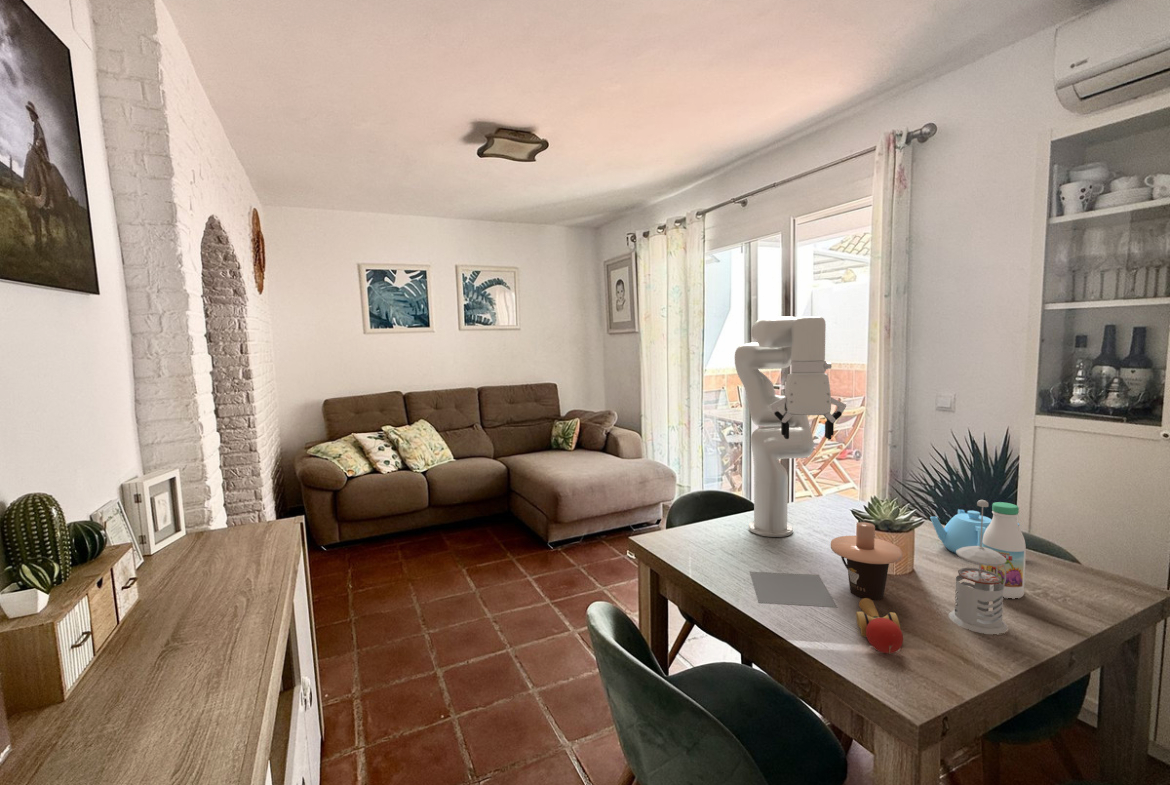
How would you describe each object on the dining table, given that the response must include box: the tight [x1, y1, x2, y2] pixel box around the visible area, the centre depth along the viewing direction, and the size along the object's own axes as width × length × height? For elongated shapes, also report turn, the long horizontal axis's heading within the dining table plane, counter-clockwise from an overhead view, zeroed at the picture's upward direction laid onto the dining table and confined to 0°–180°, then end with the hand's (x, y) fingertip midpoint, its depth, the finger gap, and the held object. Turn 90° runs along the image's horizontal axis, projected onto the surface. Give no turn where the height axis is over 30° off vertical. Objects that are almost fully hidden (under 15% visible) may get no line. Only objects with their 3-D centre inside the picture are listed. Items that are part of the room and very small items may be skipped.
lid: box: [830, 521, 903, 565], centre depth 119 cm, size 14×14×6 cm
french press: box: [948, 499, 1009, 635], centre depth 107 cm, size 10×12×25 cm
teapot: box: [929, 508, 1021, 555], centre depth 143 cm, size 15×15×11 cm
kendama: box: [855, 598, 904, 655], centre depth 104 cm, size 8×6×18 cm
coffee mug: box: [840, 556, 890, 601], centre depth 120 cm, size 12×9×10 cm
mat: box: [749, 570, 839, 608], centre depth 122 cm, size 16×16×1 cm
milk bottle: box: [981, 501, 1027, 600], centre depth 119 cm, size 8×8×20 cm
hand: (807, 438), depth 131 cm, fingers open, 9 cm apart
